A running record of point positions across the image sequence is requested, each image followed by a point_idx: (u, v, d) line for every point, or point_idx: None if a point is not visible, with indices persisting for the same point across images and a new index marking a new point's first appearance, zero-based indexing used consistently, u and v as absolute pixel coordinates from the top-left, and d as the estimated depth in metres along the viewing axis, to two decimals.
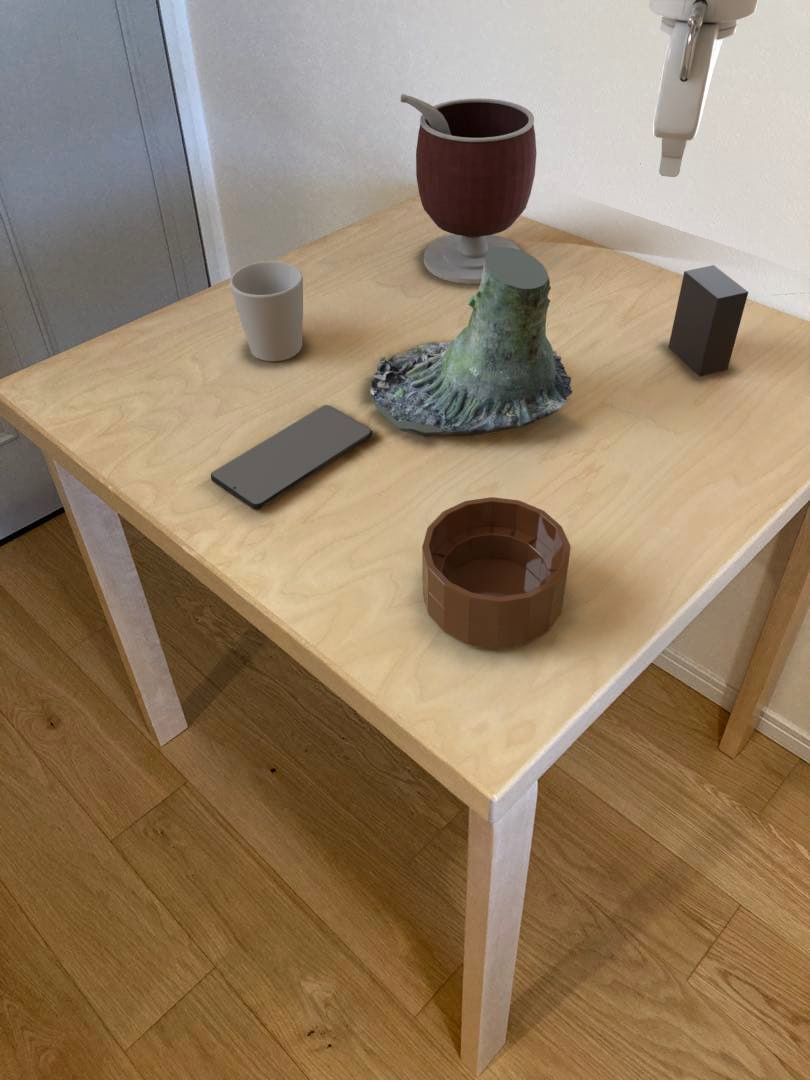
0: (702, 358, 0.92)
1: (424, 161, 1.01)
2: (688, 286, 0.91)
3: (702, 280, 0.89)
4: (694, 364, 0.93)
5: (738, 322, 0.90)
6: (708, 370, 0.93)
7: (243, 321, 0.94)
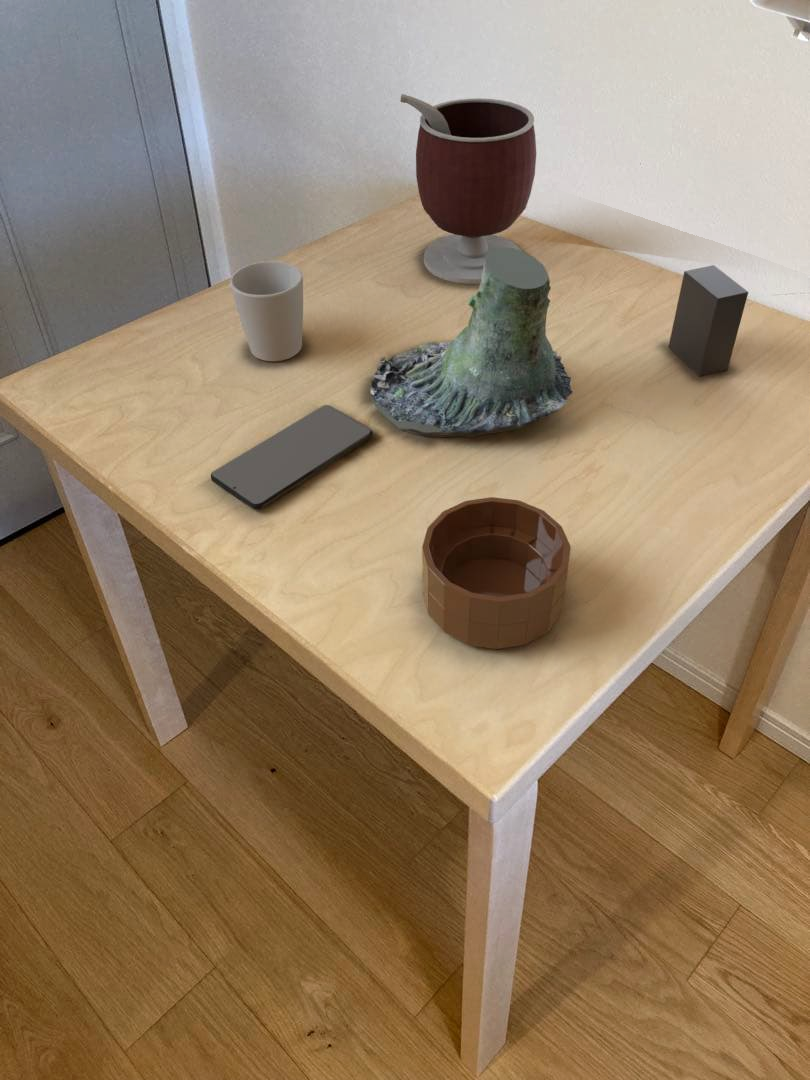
0: (702, 358, 0.92)
1: (424, 161, 1.01)
2: (688, 286, 0.91)
3: (702, 280, 0.89)
4: (694, 364, 0.93)
5: (738, 322, 0.90)
6: (708, 370, 0.93)
7: (243, 321, 0.94)
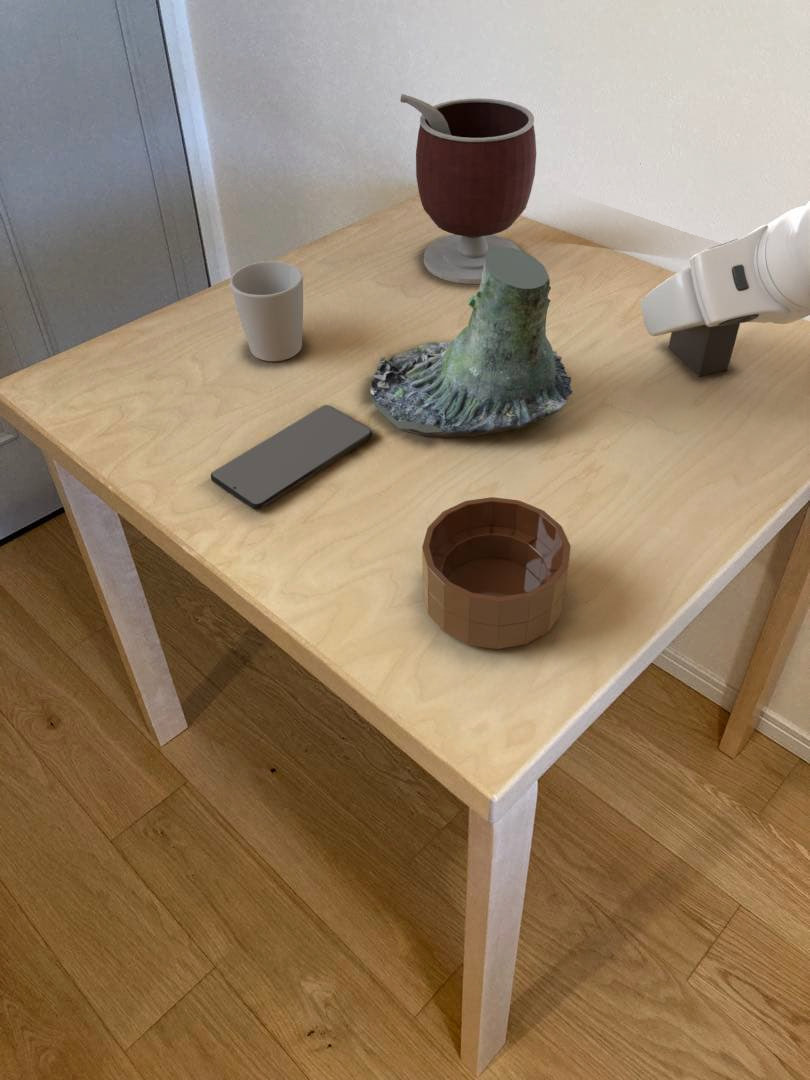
0: (702, 358, 0.92)
1: (424, 161, 1.01)
2: None
3: None
4: (694, 364, 0.93)
5: None
6: (708, 370, 0.93)
7: (243, 321, 0.94)
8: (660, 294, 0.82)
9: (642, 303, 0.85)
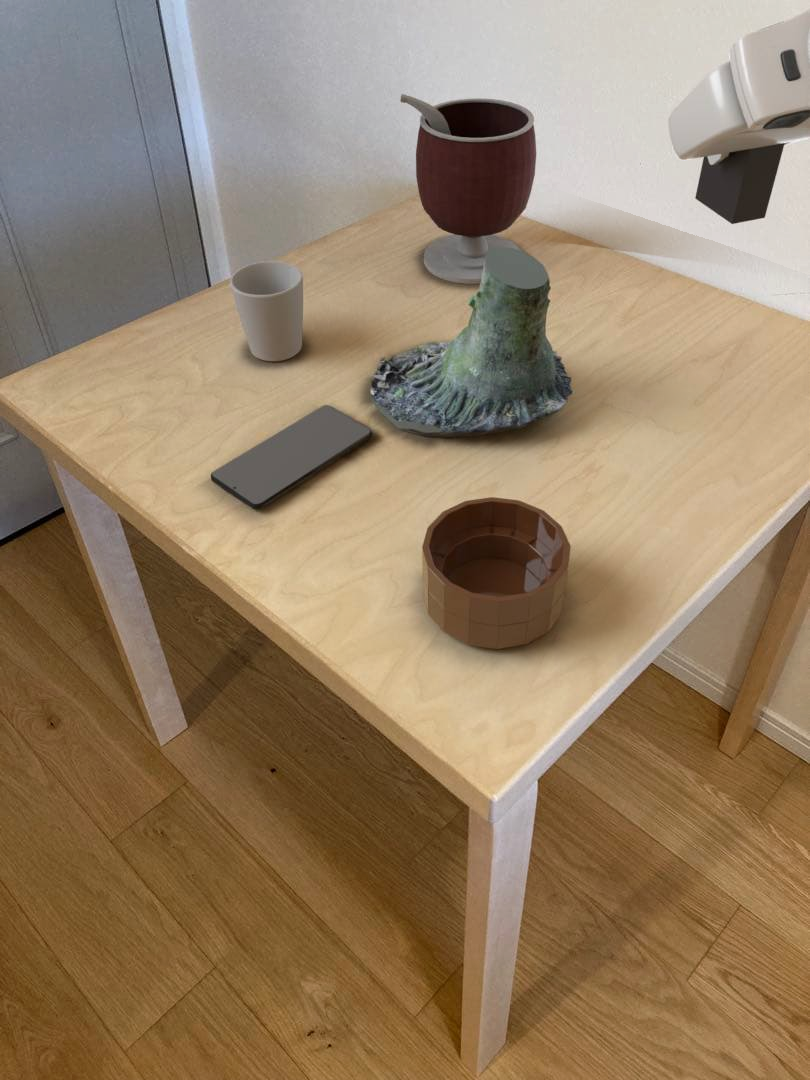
0: (736, 200, 0.79)
1: (424, 161, 1.01)
2: None
3: None
4: (726, 210, 0.81)
5: (779, 154, 0.77)
6: (743, 216, 0.80)
7: (243, 321, 0.94)
8: (692, 100, 0.69)
9: (669, 118, 0.72)
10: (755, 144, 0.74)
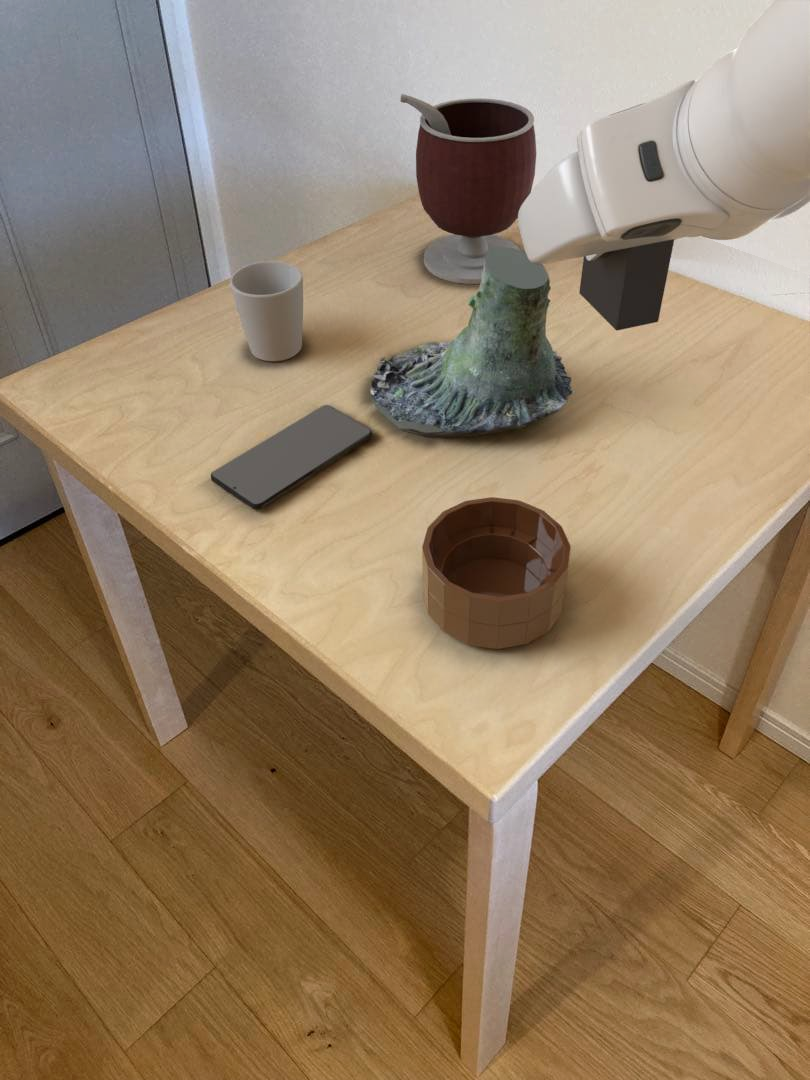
0: (619, 304, 0.64)
1: (424, 161, 1.01)
2: None
3: None
4: (610, 313, 0.66)
5: (669, 250, 0.62)
6: (629, 322, 0.66)
7: (243, 321, 0.94)
8: (540, 197, 0.54)
9: (519, 215, 0.57)
10: (631, 244, 0.59)
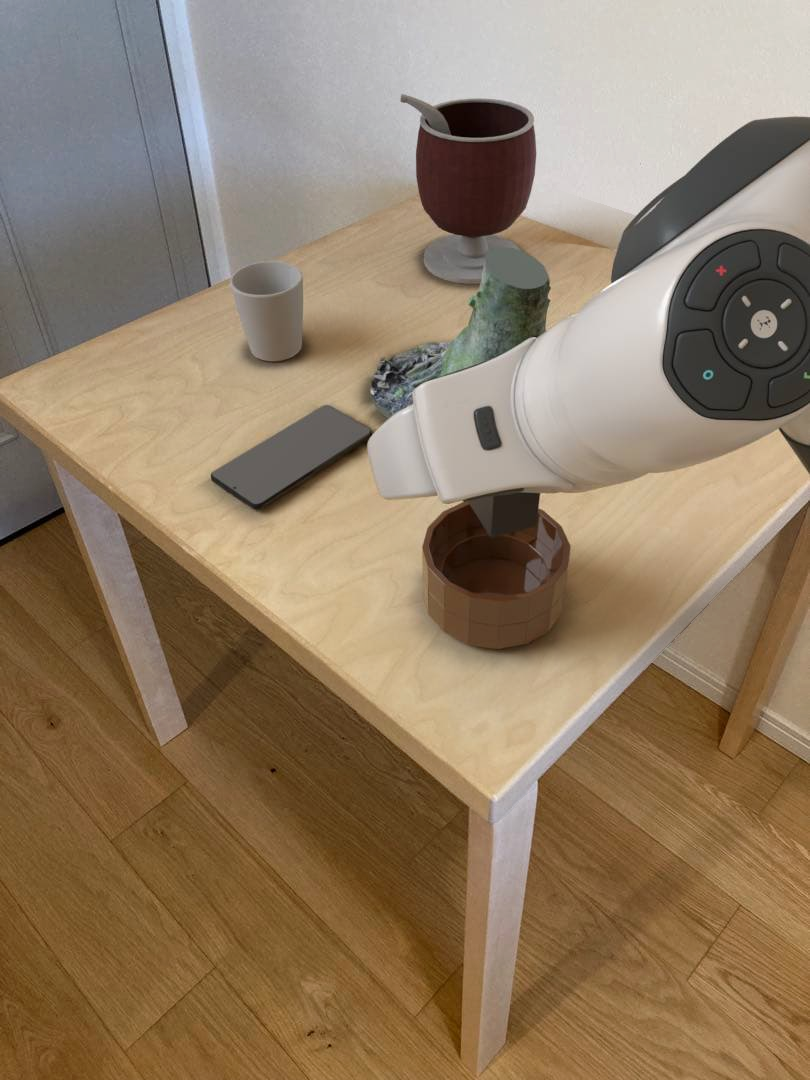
0: (491, 514, 0.60)
1: (424, 161, 1.01)
2: None
3: None
4: (484, 519, 0.62)
5: None
6: (504, 529, 0.61)
7: (243, 321, 0.94)
8: (382, 441, 0.50)
9: (368, 447, 0.53)
10: None
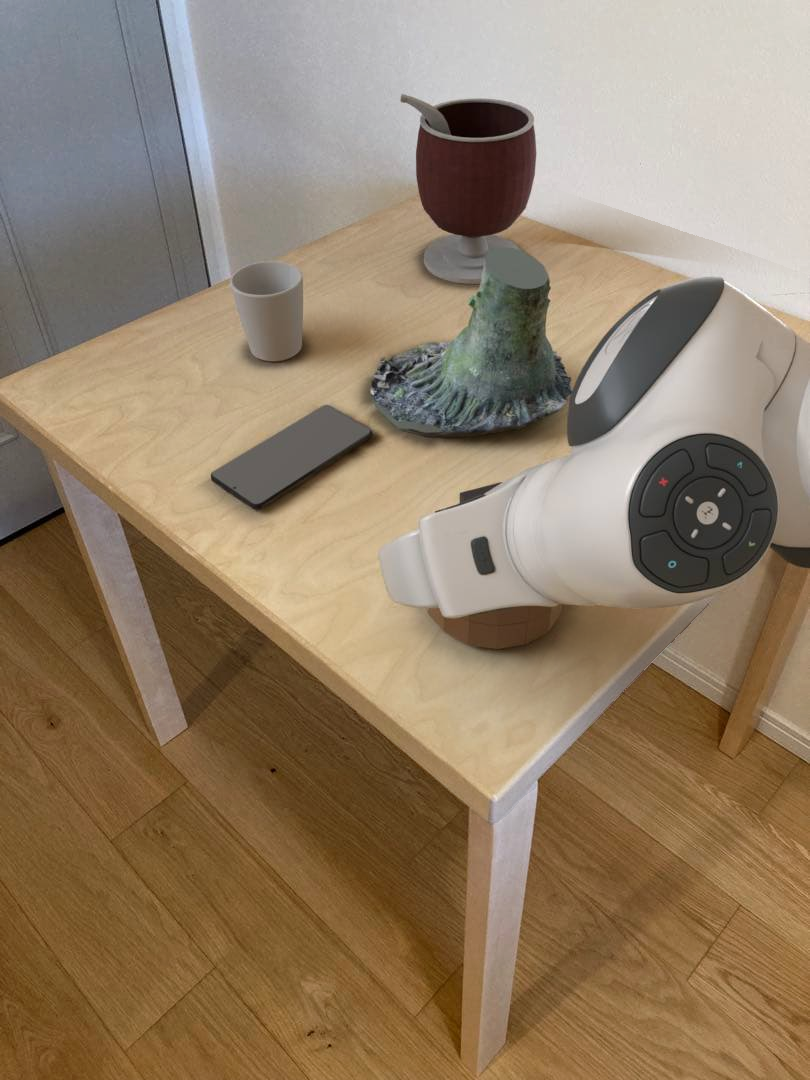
0: None
1: (424, 161, 1.01)
2: None
3: None
4: None
5: None
6: None
7: (243, 321, 0.94)
8: (392, 555, 0.57)
9: (378, 556, 0.60)
10: None
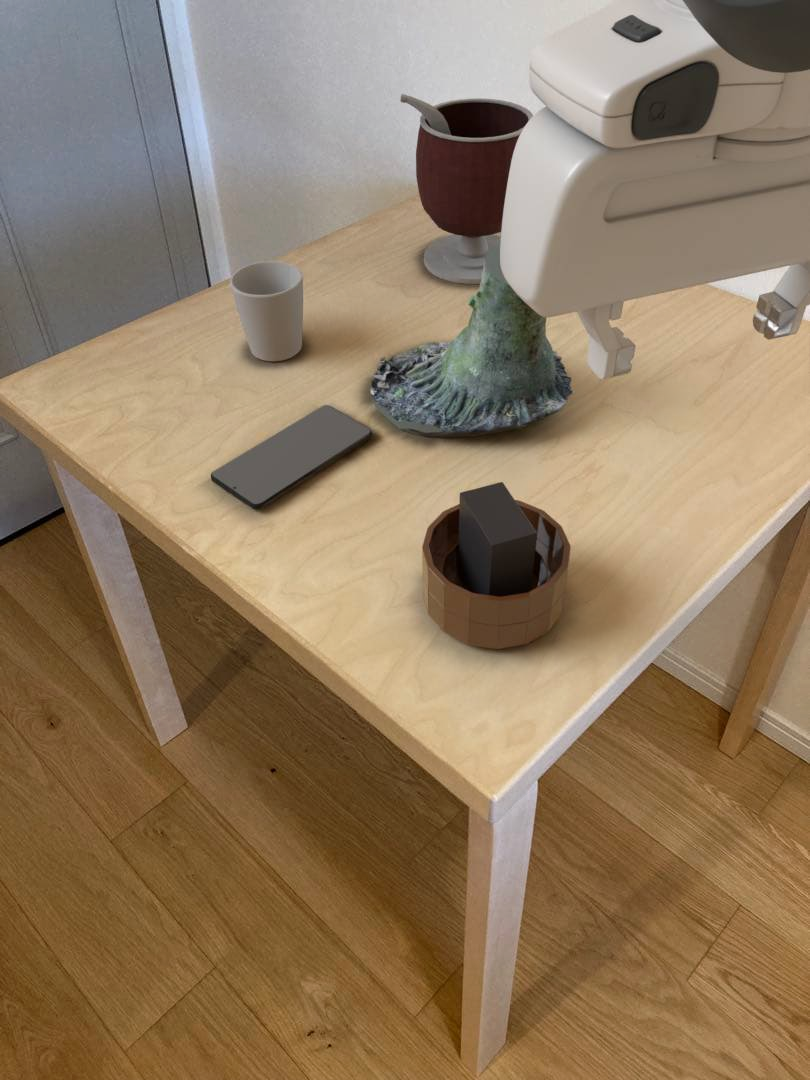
0: None
1: (424, 161, 1.01)
2: (465, 513, 0.67)
3: (478, 511, 0.65)
4: None
5: (530, 566, 0.66)
6: None
7: (243, 321, 0.94)
8: (512, 198, 0.37)
9: (501, 264, 0.39)
10: (685, 266, 0.38)
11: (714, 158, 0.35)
